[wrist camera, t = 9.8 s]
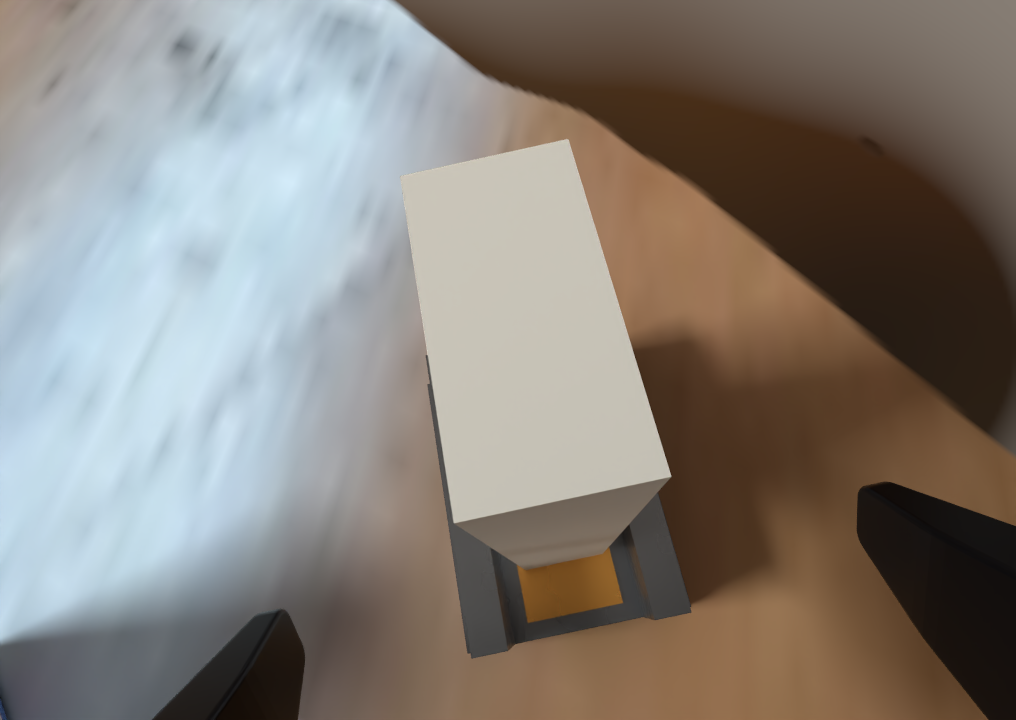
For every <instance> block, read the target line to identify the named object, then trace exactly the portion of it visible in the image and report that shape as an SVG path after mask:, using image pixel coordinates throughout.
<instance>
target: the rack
mask: <svg viewBox="0 0 1016 720" xmlns="http://www.w3.org/2000/svg"><path fill="white" fill-rule="evenodd" d="M426 360H427V367H428V374H429V380H430V384H428V391H429V398H430V405H431V411H432V418H433V425H434V431H435V438H436V445H437V451H438V458H439V465H440V472H441V478H442V485H443V492H444V498H445V505H446V512H447V519H448V525H449V532H450V539H451V545H452V552H453V559H454V566H455V572H456V579H457V586H458V592H459V599H460V606H461V613H462V619H463V626H464V633H465V639H466V646H467V653H468V654H469V653H471V659H472V658H476V657H481V656H486V655H491V654H496V653H500V652H505V651H508V650H509V649H511V648H512V647H513V646H514V645H515V644H517V643H521V642H526V641H531V640H536V639H541V638H545V637H550V636H555V635H560V634H564V633H569V632H574V631H579V630H583V629H588V628H593V627H598V626H603V625H607V624H612V623H617V622H622V621H626V620H631V619H636V618H641V617H645V618H649V619H652V620H658V619H662V618H667V617H672V616H677V615H682V614H686V613H691V609H690V607H691V604H690V601H689V598H688V594H687V591H686V587H685V584H684V580H683V577H682V574H681V570H680V567H679V563H678V560H677V556H676V553H675V550H674V546H673V543H672V539H671V536H670V532H669V529H668V526H667V522H666V519H665V515H664V512H663V508H662V505H661V502H660V498H659V495H658V492H657V493H656V495H655V496H654V497H653V498H652V499H651V500H650V501H649V502H648V504H647V505H646V506H645V507H644V508H643V509H642V510H641V511H640V512H639V514H638V515H637V516H636V517H635V518H634V519H633V520H632V521H631V523H630V524H629V525H628V526H627V527H626V528H625V529H624V530H623V532H622V533H621V534H620V535H619V536H618V537H617V538H616V539H615V540H614V542H613V543H612V544H611V545H610V546H609V547H608V548H607V549H606V551H605V552H604V553H603V554H599V555H595V556H590V557H585V558H581V559H576V560H571V561H567V562H562V563H557V564H553V565H548V566H543V567H539V568H534V569H529V570H525V569H523V568H521V567H520V566H518V565H517V564H515V563H514V562H512V561H511V560H509V559H508V558H506V557H505V556H503V555H502V554H500V553H498V552H497V551H495V550H494V549H492V548H491V547H489V546H488V545H486V544H485V543H483V542H482V541H480V540H479V539H477V538H475V537H474V536H472V535H471V534H469V533H468V532H466V531H465V530H463V529H462V528H460V527H459V526H457V525H456V524H454V521H453V515H452V508H451V502H450V495H449V489H448V483H447V476H446V470H445V463H444V457H443V450H442V444H441V437H440V431H439V424H438V418H437V411H436V405H435V399H434V392H433V386H432V379H431V373H430V366H429V360H428V355H426Z"/></svg>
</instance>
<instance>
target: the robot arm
mask: <svg viewBox="0 0 1016 720" xmlns="http://www.w3.org/2000/svg"><path fill="white" fill-rule="evenodd" d="M857 534H858V538H859V540H860V543H861V545H862V546H863V548H864V550H865V551H866V553H867V554H868V556H869V557H870V559H871V560H872V562H873V563H874V565H875V566H876V568H877V569H878V571H879V572H880V574H881V575H882V577H883V578H884V580H885V582H886V583H887V585H888V586H889V588H890V589H891V591H892V592H893V594H894V595H895V597H896V598H897V600H898V601H899V603H900V604H901V606H902V607H903V609H904V610H905V612H906V614H907V615H908V617H909V618H910V620H911V621H912V623H913V624H914V625H915V627H916V628H917V630H918V631H919V633H920V634H921V636H922V637H923V638H924V639H925V641H926V642H927V643H928V645H929V646H930V647H931V649H932V650H933V651H934V652H935V654H936V655H937V656H938V657H939V659H940V660H941V661H942V662H943V664H944V665H945V666H946V667H947V669H948V670H949V671H950V672H951V674H952V675H953V676H954V677H955V679H956V680H957V681H958V682H959V684H960V685H961V686H962V687H963V689H964V690H965V691H966V692H967V694H968V695H969V696H970V697H971V699H972V700H973V701H974V702H975V704H976V705H977V706H978V707H979V709H980V710H981V711H982V712H983V713H984V715H985V716H986V717H987V718H988V720H1016V526H1014V525H1011V524H1008V523H1005V522H1002V521H1000V520H997V519H994V518H991V517H988V516H985V515H983V514H980V513H977V512H974V511H971V510H968V509H966V508H963V507H960V506H957V505H954V504H951V503H949V502H946V501H943V500H940V499H937V498H934V497H932V496H929V495H926V494H923V493H920V492H917V491H915V490H912V489H909V488H906V487H903V486H900V485H898V484H895V483H891V482H881V483H876V484H871V485H866V486H863V487H862V488H861V489H860V490H859V492H858V502H857ZM304 665H305V653H304V648H303V645H302V642H301V640H300V638H299V636H298V634H297V631H296V629H295V627H294V625H293V622H292V620H291V618H290V616H289V614H288V613H287V612H286V611H285V610H284V609H276V610H272V611H267V612H262V613H259V614H257V615H255V616H254V617H253V618H252V619H251V620H250V621H249V622H248V623H247V624H246V625H245V626H244V627H243V628H242V629H241V630H240V631H239V632H238V633H237V634H236V635H235V636H234V637H233V638H232V639H231V640H230V641H229V642H228V643H227V644H226V645H225V646H224V647H223V648H222V649H221V650H220V651H219V652H218V653H217V654H216V655H215V656H214V657H213V658H212V659H211V660H210V661H209V663H208V664H207V665H206V666H205V667H204V668H203V669H202V670H201V671H200V672H199V673H198V674H197V675H196V676H195V677H194V678H193V679H192V680H191V681H190V682H189V683H188V684H187V685H186V686H185V687H184V688H183V689H182V690H181V691H180V692H179V693H178V694H177V695H176V696H175V697H174V698H173V699H172V700H171V701H170V702H169V703H168V704H167V705H166V706H165V707H164V708H163V709H162V710H161V711H160V712H159V713H158V714H157V715H156V716H155V717H154V718H153V719H152V720H298V714H299V705H300V697H301V689H302V681H303V673H304Z"/></svg>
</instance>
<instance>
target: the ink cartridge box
mask: <svg viewBox="0 0 1016 720" xmlns="http://www.w3.org/2000/svg"><path fill="white" fill-rule="evenodd" d="M0 720H7V718H6V715H5V712H4V709H3V705H2V702H1V699H0Z"/></svg>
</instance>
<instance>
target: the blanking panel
mask: <svg viewBox="0 0 1016 720" xmlns="http://www.w3.org/2000/svg"><path fill="white" fill-rule="evenodd" d="M400 179H401V185H402V192H403V198H404V205H405V211H406V218H407V224H408V231H409V237H410V243H411V250H412V256H413V263H414V269H415V276H416V282H417V289H418V295H419V302H420V308H421V315H422V321H423V327H424V334H425V340H426V347H427V353H428V360H429V366H430V373H431V379H432V386H433V392H434V399H435V405H436V411H437V418H438V424H439V431H440V437H441V444H442V450H443V457H444V463H445V470H446V476H447V483H448V489H449V495H450V502H451V508H452V515H453V521H454V524H456V525H457V526H459V527H460V528H462V529H463V530H465V531H466V532H468V533H469V534H471V535H472V536H474V537H475V538H477V539H479V540H480V541H482V542H483V543H485V544H486V545H488V546H489V547H491V548H492V549H494V550H495V551H497V552H498V553H500V554H502V555H503V556H505V557H506V558H508V559H509V560H511V561H512V562H514V563H515V564H517V565H518V566H520V567H521V568H523V569H525V570H529V569H534V568H539V567H543V566H548V565H553V564H557V563H562V562H567V561H571V560H576V559H581V558H585V557H590V556H595V555H599V554H603V553H604V552H605V551H606V549H607V548H608V547H609V546H610V545H611V544H612V543H613V542H614V540H615V539H616V538H617V537H618V536H619V535H620V534H621V533H622V532H623V530H624V529H625V528H626V527H627V526H628V525H629V524H630V523H631V521H632V520H633V519H634V518H635V517H636V516H637V515H638V514H639V512H640V511H641V510H642V509H643V508H644V507H645V506H646V505H647V504H648V502H649V501H650V500H651V499H652V498H653V497H654V496H655V495H656V493H657V492H658V491H659V490H660V489H661V488H662V487H663V486H664V485H665V483H666V482H667V481H668V480H669V479H670V478H671V473H670V470H669V467H668V464H667V460H666V457H665V454H664V451H663V447H662V444H661V441H660V438H659V434H658V431H657V428H656V424H655V421H654V418H653V415H652V411H651V408H650V405H649V402H648V398H647V395H646V392H645V389H644V385H643V382H642V379H641V375H640V372H639V369H638V366H637V362H636V359H635V356H634V353H633V349H632V346H631V343H630V339H629V336H628V333H627V330H626V326H625V323H624V320H623V317H622V313H621V310H620V307H619V304H618V300H617V297H616V294H615V290H614V287H613V284H612V281H611V277H610V274H609V271H608V268H607V264H606V261H605V258H604V255H603V251H602V248H601V245H600V241H599V238H598V235H597V232H596V228H595V225H594V222H593V219H592V215H591V212H590V209H589V206H588V202H587V199H586V196H585V192H584V189H583V186H582V183H581V179H580V176H579V173H578V170H577V166H576V163H575V160H574V156H573V153H572V150H571V147H570V143H569V140H568V139H566V140H561V141H557V142H552V143H548V144H543V145H539V146H534V147H529V148H525V149H520V150H516V151H511V152H507V153H502V154H498V155H493V156H489V157H484V158H480V159H475V160H471V161H466V162H461V163H457V164H452V165H448V166H443V167H439V168H434V169H430V170H425V171H421V172H416V173H412V174H407V175H403V176H400Z"/></svg>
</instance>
